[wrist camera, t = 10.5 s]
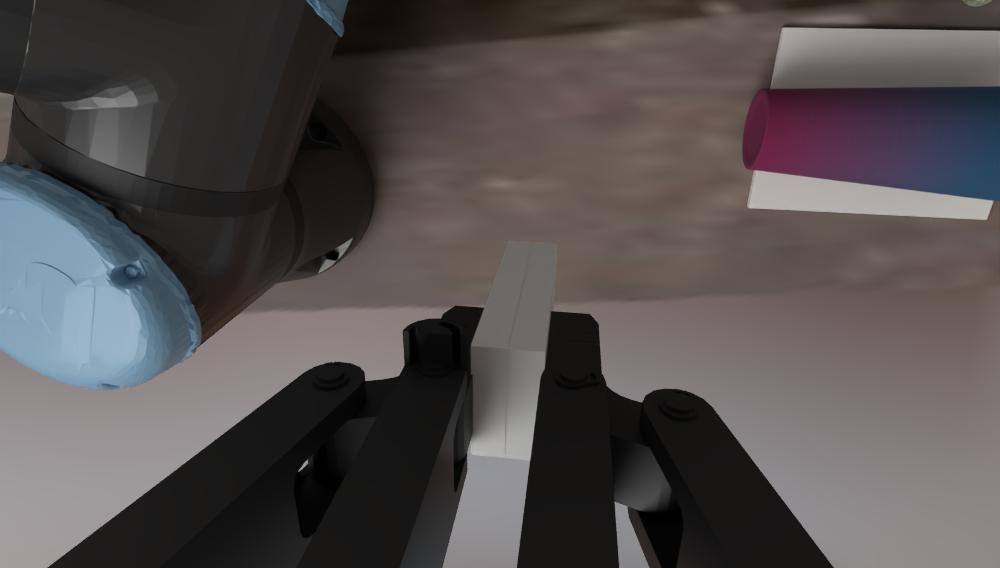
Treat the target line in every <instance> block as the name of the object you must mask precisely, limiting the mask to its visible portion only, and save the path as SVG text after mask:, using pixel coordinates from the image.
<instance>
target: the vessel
mask: <svg viewBox="0 0 1000 568" xmlns="http://www.w3.org/2000/svg"><path fill="white" fill-rule="evenodd" d="M962 1H963V2H964V3H965V4H967V5H969V6H982V5H986V4H987V3H989V2H991V1H992V0H962Z"/></svg>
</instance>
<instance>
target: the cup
mask: <svg viewBox="0 0 1000 568" xmlns="http://www.w3.org/2000/svg"><path fill="white" fill-rule="evenodd" d="M743 162H744V165H745V167H746V168H747V169H749V170H757V171H765V172H773V173H781V174H789V175H796V176H804V177H812V178H820V179H828V180H835V181H843V182H851V183H859V184H867V185H874V186H882V187H890V188H898V189H906V190H913V191H921V192H929V193H937V194H945V195H952V196H960V197H968V198H976V199H984V200H991V201H1000V86H987V87H893V88H798V89H761V90H760V91H759V92H758V93H757V94H756V96H755V97H754V99H753V101H752V104H751V106H750V109H749V113H748V116H747V120H746V124H745V130H744V136H743Z"/></svg>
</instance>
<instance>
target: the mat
mask: <svg viewBox="0 0 1000 568" xmlns="http://www.w3.org/2000/svg"><path fill="white" fill-rule="evenodd" d="M987 86H1000V31H970V30H906V29H843V28H782V30H781V35H780V40H779V45H778V50H777V55H776V61H775V66H774V71H773V76H772V81H771V86H770V89H798V88H893V87H987ZM992 204H993V201H991V200H984V199H976V198H968V197H960V196H952V195H945V194H937V193H929V192H921V191H913V190H906V189H898V188H890V187H882V186H874V185H867V184H859V183H851V182H843V181H835V180H828V179H820V178H812V177H804V176H796V175H789V174H781V173H773V172H765V171H757V170H754V173H753V178H752V183H751V188H750V193H749V198H748V203H747V207H748V208H761V209H781V210H801V211H821V212H841V213H860V214H880V215H900V216H920V217H940V218H960V219H980V220H987V217H988V215H989V212H990V209H991V207H992Z"/></svg>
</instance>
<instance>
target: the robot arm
mask: <svg viewBox="0 0 1000 568" xmlns="http://www.w3.org/2000/svg"><path fill="white" fill-rule="evenodd" d="M347 4H348V0H0V92H3V93H7V94H12V95H14V101H13V109H12V117H11V125H10V131H9V141H8V149H7V154H6V157H5V159H4V160H3V161H2V162H0V349H1V350H2V351H3V352H5V353H6V354H8V355H9V356H11V357H12V358H13V359H15V360H17V361H18V362H20V363H22V364H23V365H25V366H27V367H29V368H30V369H33V370H34V371H36V372H38V373H41V374H43V375H45V376H47V377H49V378H52V379H54V380H57V381H59V382H62V383H66V384H69V385H73V386H77V387H81V388H88V389H95V390H113V389H118V388H120V387H133V386H137V385H140V384H143V383H145V382H147V381H149V380H151V379H153V378H155V377H156V376H158V375H159V374H161V373H162V372H164V371H166V370H168V369H169V368H171V367H173V366H174V365H176V364H178V363H180V362H183V361H184V360H186V359H187V358H189V357H190V356H192V354H194V353H195V352H196V349H197V347H199V346H200V345H201V344H203V343H204V342H205V341H206V340H207V339H209V338H210V337H211V336H212V335H214V334H215V333H216V332H217V331H218V330H219V329H221V328H222V327H223V326H225V325H226V324H227V323H228V322H229V321H231V320H232V319H233V318H234V317H236V316H237V315H238V314H239V313H240V312H242V311H243V310H244V309H245V308H247V307H248V306H249V305H250V304H252V303H253V302H254V301H255V300H256V299H258V298H259V297H260V296H261V295H263V294H264V293H265V292H266V291H267V290H269V289H270V288H271V287H272V286H273V285H275V284H276V283H281V282H287V281H293V280H299V279H304V278H308V277H312V276H315V275H318V274H320V273H322V272H324V271H326V270H328V269H330V268H331V267H333V266H334V265H336V264H337V263H338V262H340V261H341V260H342V259H343V258H344V257H345V256H346V255H347V254H349V253H350V252H351V251H352V250H353V249H354V248H355V246H356V245H357V244H358V243H359V241H360V240H361V238H362V236H363V235H364V233H365V231H366V229H367V226H368V224H369V221H370V217H371V213H372V207H373V183H372V177H371V172H370V168H369V165H368V162H367V159H366V157H365V154H364V152H363V150H362V148H361V146H360V144H359V142H358V140H357V139H356V137H355V136H354V134H353V133H352V131H351V130H350V129H349V127H348V126H347V125H346V124H345V123H344V121H343V120H342V119H341V118H340V117H339V116H338V115H337V114H336V113H334V112H333V111H332V110H331V109H330V108H329V107H327V106H326V105H325V104H323V103H322V102H320V101H319V100H317V99H316V98H317V95H318V92H319V89H320V87H321V84H322V81H323V78H324V75H325V73H326V70H327V67H328V64H329V61H330V59H331V56H332V53H333V50H334V47H335V45H336V42H337V39H338V36H339V37H342V36H343V33H344V25H343V22H342V21H343V17H344V14H345V10H346V7H347ZM557 245H558V244H556V243H539V242H522V241H508V244H507V246H506V249H505V252H504V255H503V258H502V260H501V263H500V266H499V269H498V271H497V274H496V277H495V280H494V282H493V285H492V288H491V291H490V294H489V296H488V299H487V302H486V305H485V307H484V308H479V307H466V306H454V307H453V308H451V309H450V310H448V311H447V312H445V313H444V314H443V316H442V318H441V319H426V320H421V321H417V322H415V323H412V324H410V325H408V326H407V327H406V328H405V329H404V330H403V343H404V361H405V366H404V368H403V370H402V372H401V373H400V375H399V376H398V377H394V378H389V379H383V380H373V381H365V374H364V371H363V370H362V369H361V368H360V367H358V366H356V365H353V364H351V363H343V362H334V363H332V362H331V363H325V364H323V365H319V366H316V367H314V368H312V369H310V370H308V371H306V372H305V373H303V374H302V375H301V376H299V377H298V378H297V379H295V380H294V381H293V382H291V383H290V384H289V385H288V386H286V387H285V388H283V389H282V390H281V391H280V392H278V393H277V394H276V395H274V396H273V397H272V398H270V399H269V400H268V401H266V402H265V403H264V404H262V405H261V406H260V407H258V408H257V409H256V410H255V411H253V412H252V413H251V414H249V415H248V416H247V417H245V418H244V419H243V420H241V421H240V422H239V423H237V424H236V425H235V426H233V427H232V428H231V429H229V430H228V431H227V432H225V433H224V434H223V435H222V436H220V437H219V438H218V439H216V440H215V441H214V442H212V443H211V444H210V445H208V446H207V447H206V448H204V449H203V450H202V451H200V452H199V453H198V454H196V455H195V456H194V457H193V458H191V459H190V460H189V461H187V462H186V463H185V464H183V465H182V466H181V467H179V468H178V469H177V470H176V471H174V472H173V473H172V474H170V475H169V476H168V477H166V478H165V479H164V480H162V481H161V482H160V483H159V484H157V485H156V486H155V487H153V488H152V489H150V490H149V491H148V492H147V493H145V494H144V495H143V496H141V497H140V498H139V499H137V500H136V501H135V502H133V503H132V504H131V505H129V506H128V507H127V508H125V509H124V510H123V511H121V512H120V513H119V514H118V515H116V516H115V517H114V518H112V519H111V520H110V521H109V522H107V523H106V524H104V525H103V526H102V527H100V528H99V529H98V530H96V531H95V532H94V533H93V534H91V535H90V536H89V537H87V538H86V539H85V540H83V541H82V542H81V543H79V544H78V545H77V546H75V547H74V548H73V549H71V550H70V551H69V552H68V553H66V554H65V555H64V556H62V557H61V558H60V559H58V560H57V561H56V562H54V563H53V564H52V565H50V566H49V567H48V568H442V566H443V563H444V559H445V555H446V551H447V547H448V543H449V539H450V536H451V532H452V528H453V524H454V520H455V516H456V513H457V509H458V505H459V501H460V497H461V493H462V489H463V486H464V481H465V478H466V474H467V451H468V447H469V444H470V440H471V454H472V455H482V456H492V457H501V458H511V459H522V460H530V467H529V475H528V483H527V491H526V499H525V508H524V515H523V524H522V531H521V539H520V547H519V556H518V564H517V568H619V560H618V546H617V531H616V517H615V503H614V501H615V502H618V503H620V504H623V505H626V506H628V514H629V518H630V521H631V523H632V526H633V528H634V531H635V533H636V535H637V538H638V540H639V543H640V545H641V548H642V550H643V553H644V555H645V557H646V560H647V562H648V565H649V567H650V568H834V567H833V566H832V565H831V564H830V562H829V561H828V560H827V558H826V557H825V556H824V554H823V553H822V552H821V550H820V549H819V548H818V546H817V545H816V544H815V543H814V541H813V540H812V538H811V537H810V536H809V534H808V533H807V532H806V531H805V529H804V528H803V526H802V525H801V524H800V523H799V521H798V520H797V519H796V517H795V516H794V515H793V513H792V512H791V511H790V509H789V508H788V507H787V505H786V504H785V503H784V501H783V500H782V499H781V497H780V496H779V495H778V493H777V492H776V491H775V489H774V488H773V487H772V486H771V484H770V483H769V481H768V480H767V479H766V478H765V476H764V475H763V474H762V472H761V471H760V470H759V468H758V467H757V466H756V464H755V463H754V462H753V461H752V459H751V458H750V456H749V455H748V454H747V452H746V451H745V450H744V448H743V447H742V446H741V445H740V443H739V442H738V441H737V439H736V438H735V437H734V435H733V434H732V433H731V431H730V430H729V429H728V427H727V426H726V425H725V423H724V422H723V421H722V420H721V418H720V417H719V415H718V414H717V413H716V411H715V410H714V409H713V407H712V406H710V405H709V404H708V403H707V402H706V401H705V400H704V399H702V398H700V397H698V396H696V395H694V394H692V393H690V392H687V391H683V390H678V389H660V390H655V391H653V392H651V393H649V394H647V395H646V396H645V398H644V400H643V402H642V403H641V402H637V401H634V400H631V399H628V398H625V397H622V396H620V395H618V394H617V393H615V392H613V391H612V390H611V389H610V388H608V387H607V386H606V381H605V379H604V377H603V375H602V371H601V355H600V341H599V325H598V323H597V322H596V321H595V320H594V318H593V317H592V316H591V315H590V314H582V313H568V312H554V311H553V309H554V294H555V278H556V261H557ZM307 459H308V464H307V465H306V466H305V467H304V468H303V469H302V470H301V471H299V472H298V470H299V469H300V468H301V466H302V465H303V464H304V462H305V461H306V460H307Z"/></svg>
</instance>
